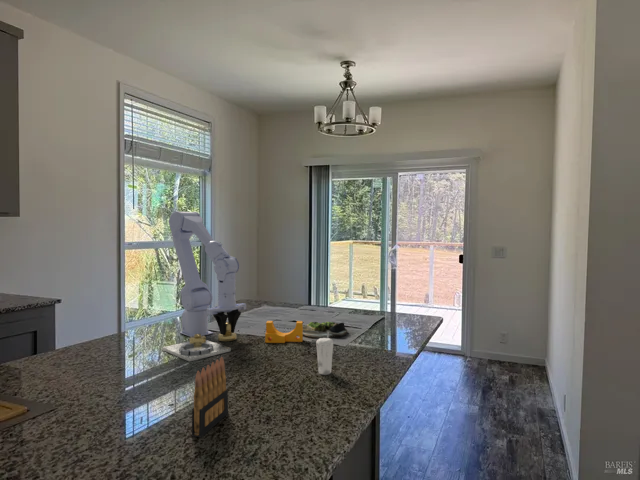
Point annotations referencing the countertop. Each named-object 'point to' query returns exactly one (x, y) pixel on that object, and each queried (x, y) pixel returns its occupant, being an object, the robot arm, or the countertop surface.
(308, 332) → the salad plate
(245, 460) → the countertop surface
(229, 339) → the flanged cylinder knob
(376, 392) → the countertop surface
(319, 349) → the milkshake
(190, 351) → the carrier
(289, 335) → the pipe clamp
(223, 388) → the ammunition clip
